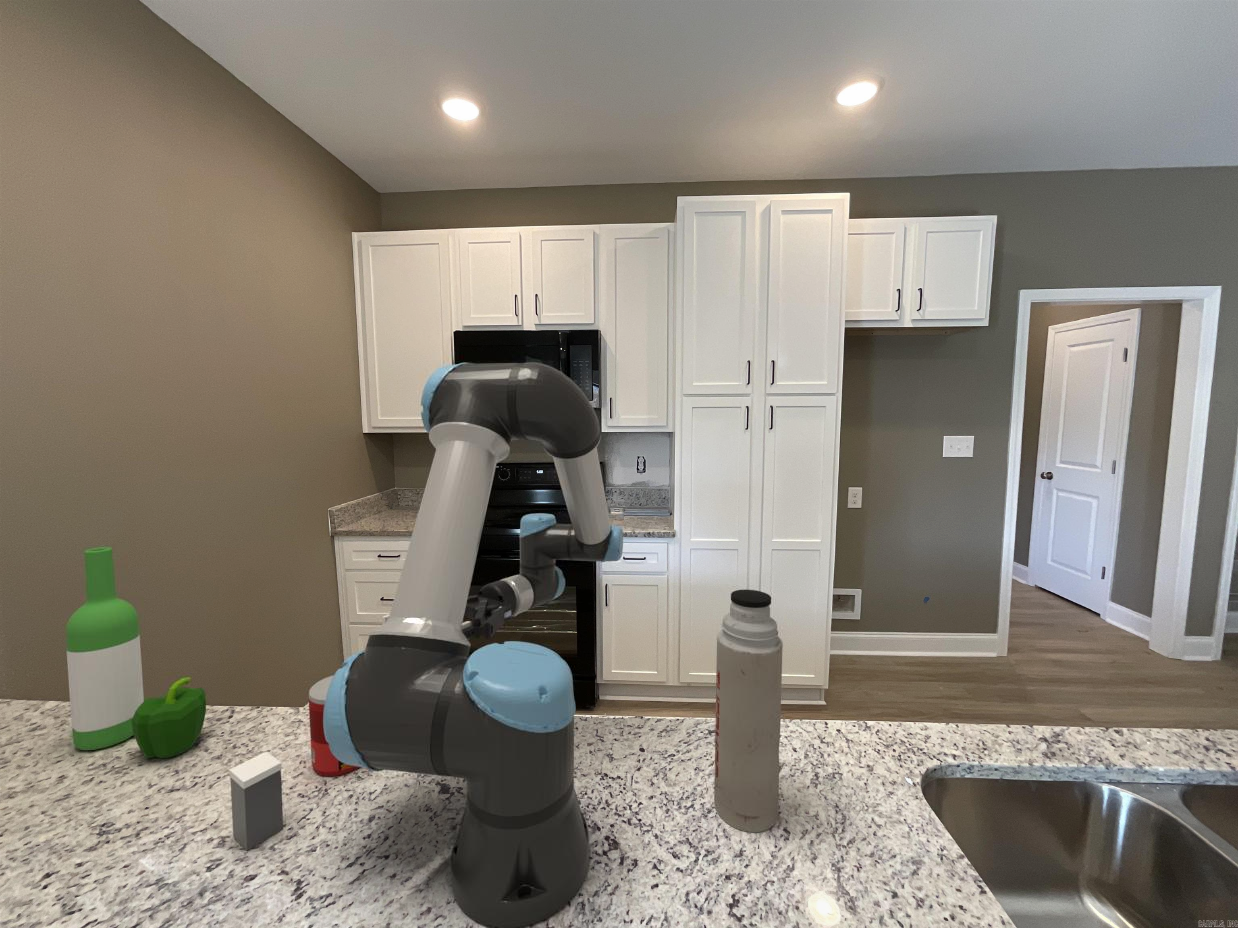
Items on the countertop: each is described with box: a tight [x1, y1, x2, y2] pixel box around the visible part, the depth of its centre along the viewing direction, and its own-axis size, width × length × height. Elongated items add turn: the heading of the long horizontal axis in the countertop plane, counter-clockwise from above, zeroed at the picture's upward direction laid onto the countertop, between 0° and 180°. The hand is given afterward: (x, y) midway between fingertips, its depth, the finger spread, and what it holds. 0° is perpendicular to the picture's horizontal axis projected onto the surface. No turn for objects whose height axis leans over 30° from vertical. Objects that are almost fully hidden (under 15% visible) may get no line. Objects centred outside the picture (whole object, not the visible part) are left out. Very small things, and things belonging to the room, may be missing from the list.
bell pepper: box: [132, 677, 207, 759], centre depth 72 cm, size 8×8×10 cm
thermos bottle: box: [713, 589, 784, 833], centre depth 61 cm, size 8×8×28 cm
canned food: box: [308, 674, 360, 777], centre depth 68 cm, size 8×8×11 cm
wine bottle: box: [65, 546, 145, 751], centre depth 74 cm, size 8×8×30 cm
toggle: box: [228, 751, 284, 852], centre depth 56 cm, size 4×4×8 cm
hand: (408, 633), depth 77 cm, fingers open, 13 cm apart
